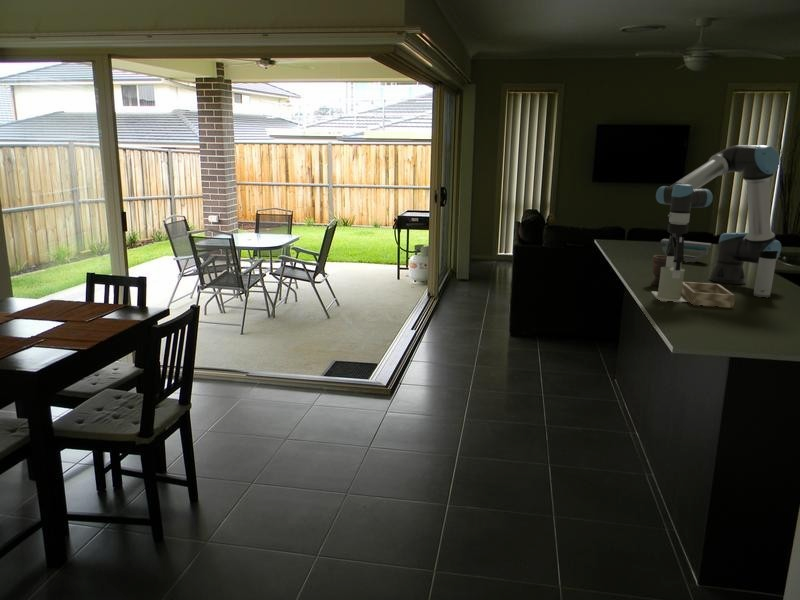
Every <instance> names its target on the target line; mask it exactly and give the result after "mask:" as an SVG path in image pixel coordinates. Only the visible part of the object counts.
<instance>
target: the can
mask: <svg viewBox="0 0 800 600" xmlns="http://www.w3.org/2000/svg"><path fill="white" fill-rule="evenodd" d="M673 267H674V266H673ZM673 267H661V272H660V281H659V286H658V289H657V290H658V291H657V292H658V294H657V295H658V296H660V297H664V298H671V299H679V298H681V291H682V284H683V282H684V276H685V271H686V269H684V268H681V272H680V278H672V275H673Z"/></svg>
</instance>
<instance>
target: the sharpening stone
mask: <svg viewBox="0 0 800 600" xmlns="http://www.w3.org/2000/svg"><path fill="white" fill-rule="evenodd" d="M668 242H669V238H663V239H661V240H660V244H664V245H662V246H661V247H662V248H661V250H662V252H663V253H664V254H665V256H667V254H666V251H667V246H668ZM712 245H713V244H712V243H711V242H702V241H700V242H699V241H691V240H684V252H686V253H695V254H697V255H696V256H694V255H687V254H684V261H689V262H694V263H696V262H697V261H699V260H700V259H702V258H703V257H704V256H706V255H707V254H709V248H711V247H712ZM674 260H675V256H674Z"/></svg>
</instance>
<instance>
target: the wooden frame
mask: <svg viewBox="0 0 800 600" xmlns="http://www.w3.org/2000/svg"><path fill="white" fill-rule="evenodd" d="M681 295H682V297H683V298H685V299H686V300H687V301H688V303H689V302H690V303H691V304H693V305H692V306H700V305H703V307H715V306H718V308H719V307H720V308H730V309H733V308H734V306H735V300H736V295H735V294H734V293H733V292H731V291H730V290H728V289H727V288H725V287H724V286H723V285H721V284H719V283H709V282H696V281H695V282H693V281H683V284H682V291H681ZM690 303H689V304H690ZM691 304H690V305H691Z"/></svg>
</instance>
